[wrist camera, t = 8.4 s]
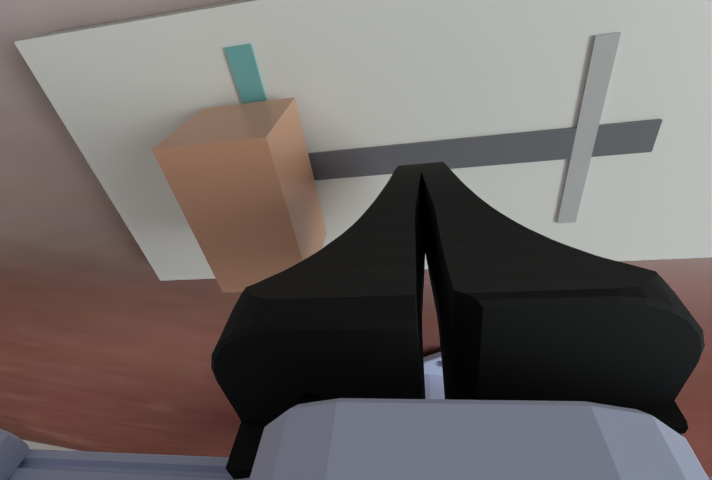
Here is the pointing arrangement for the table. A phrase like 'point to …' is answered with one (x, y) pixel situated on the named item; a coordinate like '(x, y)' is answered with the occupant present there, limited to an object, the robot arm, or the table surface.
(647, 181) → the fader board
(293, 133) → the block
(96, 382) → the table surface
